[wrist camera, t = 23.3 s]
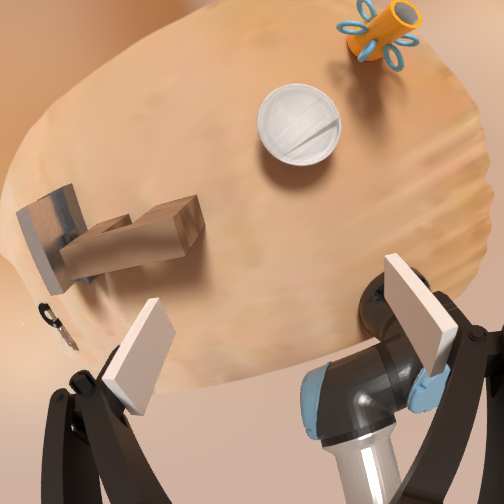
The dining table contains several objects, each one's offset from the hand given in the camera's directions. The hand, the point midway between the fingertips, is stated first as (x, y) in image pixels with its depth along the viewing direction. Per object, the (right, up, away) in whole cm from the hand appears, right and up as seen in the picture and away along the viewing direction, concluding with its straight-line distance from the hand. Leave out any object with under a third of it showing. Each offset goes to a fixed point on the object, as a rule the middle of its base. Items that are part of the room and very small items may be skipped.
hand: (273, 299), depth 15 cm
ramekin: (+5, +21, +22) cm, 31 cm away
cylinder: (+16, +34, +15) cm, 41 cm away
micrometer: (-53, -17, +42) cm, 70 cm away
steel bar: (-36, +6, +27) cm, 46 cm away
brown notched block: (-19, +7, +29) cm, 35 cm away
